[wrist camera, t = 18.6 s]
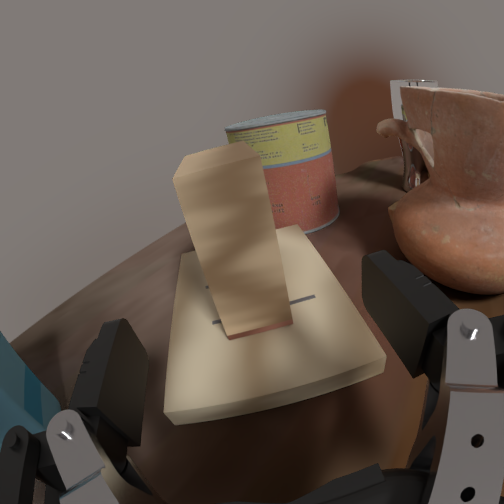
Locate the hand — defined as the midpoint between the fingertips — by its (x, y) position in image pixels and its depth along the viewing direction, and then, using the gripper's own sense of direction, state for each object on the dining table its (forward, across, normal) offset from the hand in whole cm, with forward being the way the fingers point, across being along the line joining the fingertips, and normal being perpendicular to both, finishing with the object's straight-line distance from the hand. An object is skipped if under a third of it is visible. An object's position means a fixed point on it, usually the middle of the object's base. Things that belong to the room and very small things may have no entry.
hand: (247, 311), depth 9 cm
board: (+10, 0, +8) cm, 13 cm away
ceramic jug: (+7, -19, +8) cm, 22 cm away
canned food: (+25, -7, +8) cm, 27 cm away
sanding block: (+9, 0, +6) cm, 11 cm away
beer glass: (+24, -26, +8) cm, 36 cm away
